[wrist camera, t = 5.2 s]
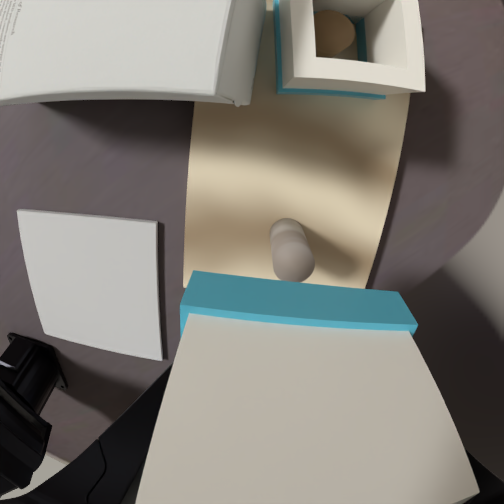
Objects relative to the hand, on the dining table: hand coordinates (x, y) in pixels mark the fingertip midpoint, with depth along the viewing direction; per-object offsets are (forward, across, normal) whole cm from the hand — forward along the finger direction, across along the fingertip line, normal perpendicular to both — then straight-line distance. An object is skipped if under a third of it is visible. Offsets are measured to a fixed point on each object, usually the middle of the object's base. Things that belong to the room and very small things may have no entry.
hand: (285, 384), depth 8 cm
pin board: (+12, -1, -6) cm, 13 cm away
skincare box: (+8, +18, -11) cm, 22 cm away
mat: (+12, +13, +6) cm, 19 cm away
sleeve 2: (+1, 0, 0) cm, 1 cm away
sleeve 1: (+11, -1, -11) cm, 16 cm away
